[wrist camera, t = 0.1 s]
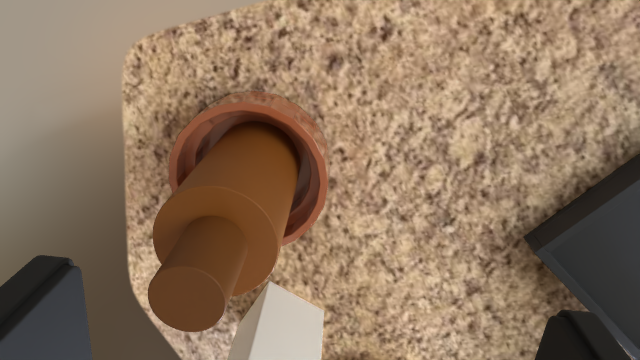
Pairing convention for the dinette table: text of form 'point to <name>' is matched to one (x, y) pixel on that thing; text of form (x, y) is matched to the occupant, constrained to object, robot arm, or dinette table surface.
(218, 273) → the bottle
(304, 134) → the bowl
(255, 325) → the milk
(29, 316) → the robot arm
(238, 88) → the dinette table surface
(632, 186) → the tray
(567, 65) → the dinette table surface
